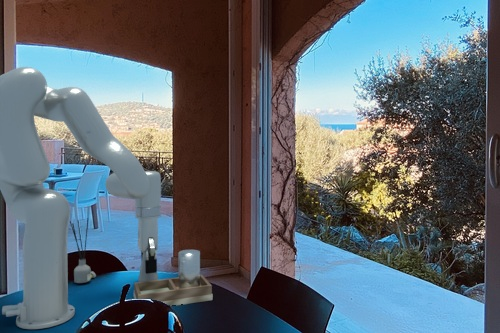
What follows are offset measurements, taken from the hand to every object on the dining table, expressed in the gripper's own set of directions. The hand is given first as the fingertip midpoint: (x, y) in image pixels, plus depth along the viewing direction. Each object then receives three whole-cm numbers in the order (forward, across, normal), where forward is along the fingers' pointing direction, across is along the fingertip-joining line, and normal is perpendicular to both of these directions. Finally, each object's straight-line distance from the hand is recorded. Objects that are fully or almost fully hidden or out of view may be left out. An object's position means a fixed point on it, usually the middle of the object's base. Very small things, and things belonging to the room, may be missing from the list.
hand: (148, 268), depth 113 cm
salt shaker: (+6, 0, 0) cm, 6 cm away
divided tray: (+6, +12, +5) cm, 14 cm away
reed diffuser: (+6, -12, -19) cm, 23 cm away
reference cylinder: (+4, +12, +10) cm, 16 cm away
